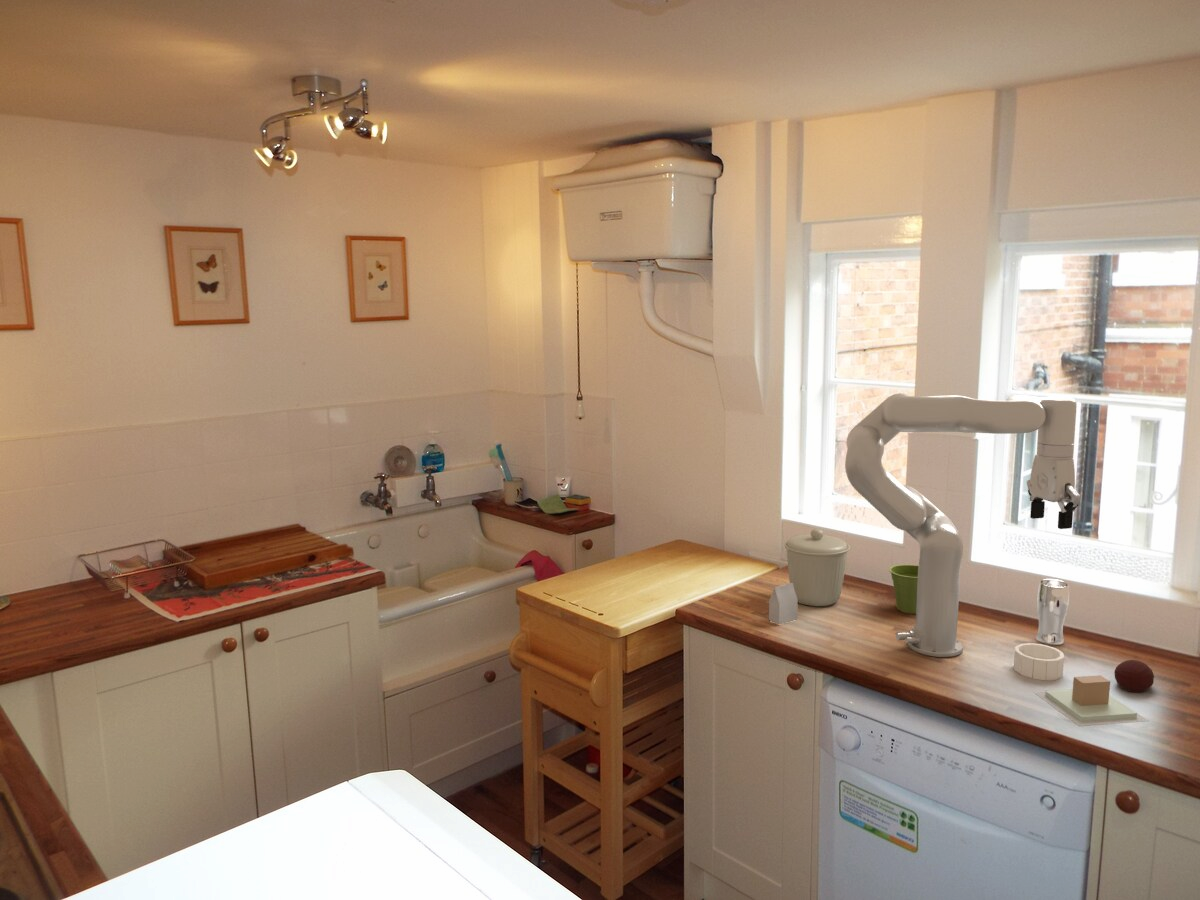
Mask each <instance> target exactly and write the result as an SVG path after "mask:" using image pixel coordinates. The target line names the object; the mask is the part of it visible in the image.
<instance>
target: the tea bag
mask: <svg viewBox="0 0 1200 900" xmlns="http://www.w3.org/2000/svg"><path fill="white" fill-rule="evenodd" d="M768 603H769V604H768V613H769V614H768V621H769V620H770V621H772V622H775V623H777V624H782V623H786V622H790V621H793V620H798V601H797V596H796V593H795V590H794V586H793V583H790V582H789V583H785V584H781V585H778V586H774V587H773V590H772V594H771V596H770V597H769V600H768ZM793 622H794V621H793ZM790 623H791V622H790Z"/></svg>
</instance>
